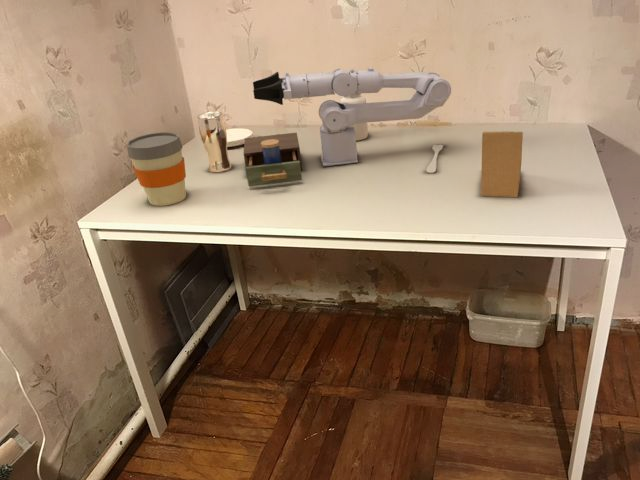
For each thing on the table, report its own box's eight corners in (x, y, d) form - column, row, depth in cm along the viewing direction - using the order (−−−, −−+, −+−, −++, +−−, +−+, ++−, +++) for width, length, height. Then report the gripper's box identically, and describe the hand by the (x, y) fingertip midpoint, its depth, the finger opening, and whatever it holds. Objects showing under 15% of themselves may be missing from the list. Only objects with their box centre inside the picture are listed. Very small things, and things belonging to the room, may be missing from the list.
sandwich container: (520, 172, 143) (524, 111, 135) (518, 197, 130) (523, 131, 122) (484, 171, 145) (486, 111, 137) (479, 196, 132) (482, 131, 125)
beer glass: (227, 173, 158) (216, 118, 150) (203, 172, 159) (192, 118, 152) (237, 164, 163) (227, 111, 156) (214, 164, 165) (203, 111, 157)
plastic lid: (216, 153, 173) (215, 145, 172) (203, 142, 184) (201, 134, 182) (260, 143, 179) (259, 135, 177) (244, 133, 189) (243, 125, 188)
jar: (283, 168, 152) (278, 138, 148) (283, 174, 148) (279, 143, 144) (265, 170, 152) (260, 140, 148) (265, 176, 148) (260, 145, 144)
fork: (425, 181, 148) (425, 171, 147) (435, 146, 164) (434, 137, 163) (436, 181, 148) (436, 171, 146) (445, 146, 164) (445, 137, 162)
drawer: (303, 186, 143) (300, 167, 140) (248, 192, 142) (245, 174, 139) (299, 163, 157) (296, 146, 155) (249, 169, 156) (246, 152, 154)
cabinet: (302, 170, 155) (299, 147, 152) (247, 177, 154) (243, 153, 150) (299, 154, 167) (296, 132, 163) (248, 160, 165) (244, 138, 162)
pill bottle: (368, 140, 173) (365, 89, 166) (341, 142, 174) (337, 91, 166) (368, 132, 180) (365, 83, 173) (342, 134, 181) (338, 85, 173)
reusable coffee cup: (152, 190, 150) (136, 133, 143) (199, 187, 150) (186, 130, 142) (134, 210, 140) (116, 150, 132) (185, 207, 139) (170, 146, 131)
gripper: (303, 63, 153) (251, 67, 151) (308, 76, 141) (251, 81, 139) (305, 90, 156) (254, 94, 155) (310, 105, 144) (255, 110, 143)
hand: (253, 90), depth 147 cm, fingers open, 7 cm apart
